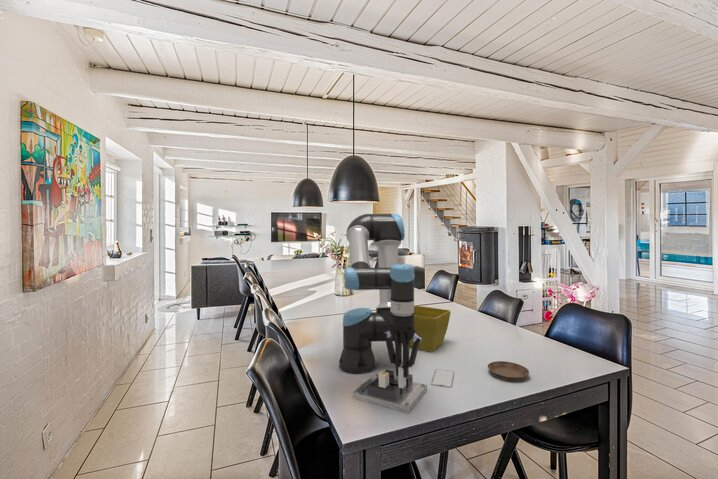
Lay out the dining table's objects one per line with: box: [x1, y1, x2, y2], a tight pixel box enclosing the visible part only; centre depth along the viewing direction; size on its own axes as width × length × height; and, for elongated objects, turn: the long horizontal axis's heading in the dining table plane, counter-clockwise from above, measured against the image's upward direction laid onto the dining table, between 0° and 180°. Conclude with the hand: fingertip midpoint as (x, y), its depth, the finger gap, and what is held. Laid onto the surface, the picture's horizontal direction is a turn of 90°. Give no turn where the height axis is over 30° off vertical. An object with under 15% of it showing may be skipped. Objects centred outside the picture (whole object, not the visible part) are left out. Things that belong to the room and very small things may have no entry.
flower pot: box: [409, 305, 451, 353], centre depth 171 cm, size 19×19×17 cm
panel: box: [352, 363, 428, 414], centre depth 123 cm, size 20×17×9 cm
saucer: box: [487, 360, 530, 382], centre depth 139 cm, size 15×15×3 cm
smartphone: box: [430, 368, 455, 389], centre depth 136 cm, size 7×1×15 cm
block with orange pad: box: [378, 371, 389, 388], centre depth 118 cm, size 2×3×4 cm
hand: (402, 386), depth 115 cm, fingers closed
